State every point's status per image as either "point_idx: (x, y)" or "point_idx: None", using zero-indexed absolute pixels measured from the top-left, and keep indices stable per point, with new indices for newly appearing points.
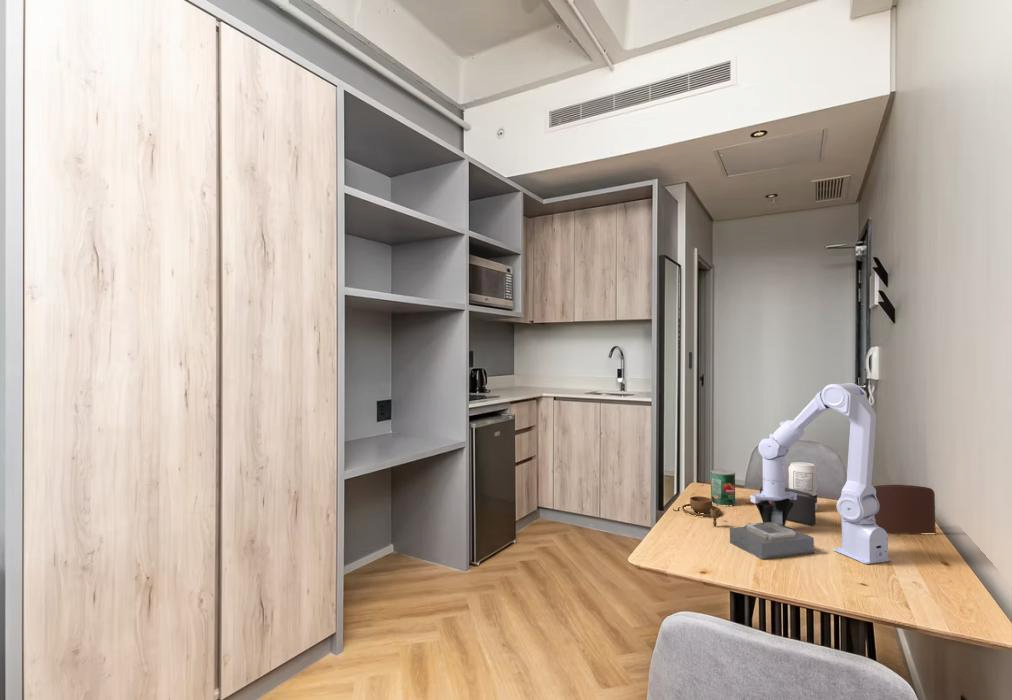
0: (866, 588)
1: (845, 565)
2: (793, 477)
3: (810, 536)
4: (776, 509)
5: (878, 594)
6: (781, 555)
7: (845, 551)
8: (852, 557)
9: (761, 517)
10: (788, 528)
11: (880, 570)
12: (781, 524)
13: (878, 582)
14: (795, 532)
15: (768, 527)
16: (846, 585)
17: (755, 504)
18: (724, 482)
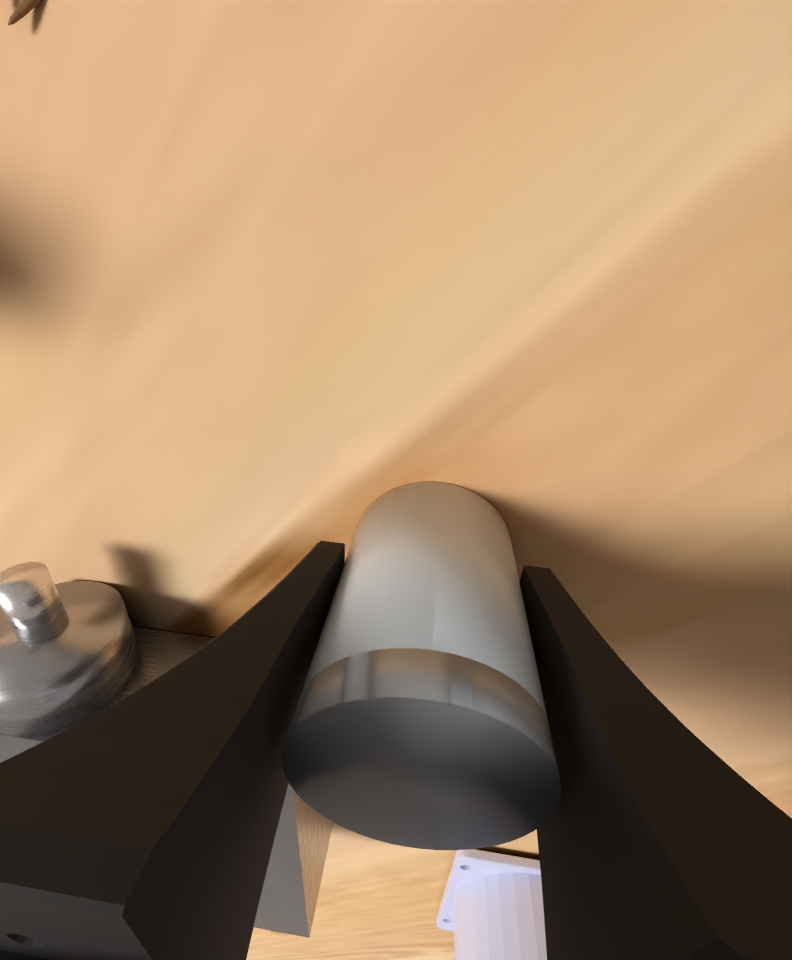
0: (261, 935)
1: (352, 890)
2: None
3: (305, 929)
4: (494, 785)
5: (263, 947)
6: None
7: (457, 899)
8: (443, 899)
9: (269, 592)
10: (273, 852)
11: (436, 933)
12: (291, 803)
13: (334, 941)
14: (264, 886)
15: None
16: None
17: (29, 752)
18: None
